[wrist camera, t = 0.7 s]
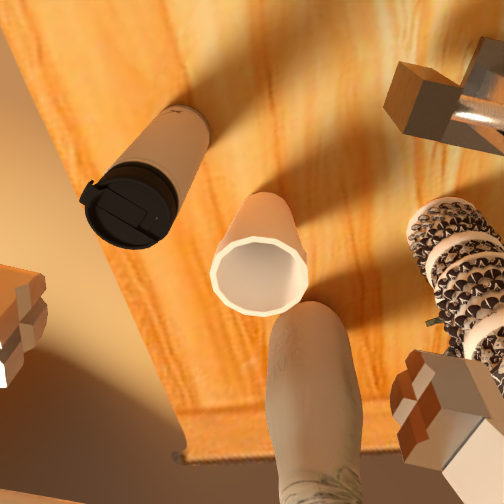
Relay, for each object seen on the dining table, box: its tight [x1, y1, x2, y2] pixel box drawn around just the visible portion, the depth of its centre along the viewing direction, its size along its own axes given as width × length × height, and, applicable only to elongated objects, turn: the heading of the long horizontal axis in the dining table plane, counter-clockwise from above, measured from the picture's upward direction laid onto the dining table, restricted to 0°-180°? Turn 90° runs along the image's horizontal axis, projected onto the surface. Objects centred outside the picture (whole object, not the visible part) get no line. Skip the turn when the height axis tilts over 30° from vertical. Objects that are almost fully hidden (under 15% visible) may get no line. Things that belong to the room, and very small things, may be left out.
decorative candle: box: [406, 197, 504, 398], centre depth 41 cm, size 9×9×25 cm
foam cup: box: [210, 192, 308, 317], centre depth 47 cm, size 10×9×13 cm
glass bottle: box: [265, 301, 363, 504], centre depth 49 cm, size 10×10×28 cm
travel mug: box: [79, 105, 210, 250], centre depth 39 cm, size 6×7×20 cm
